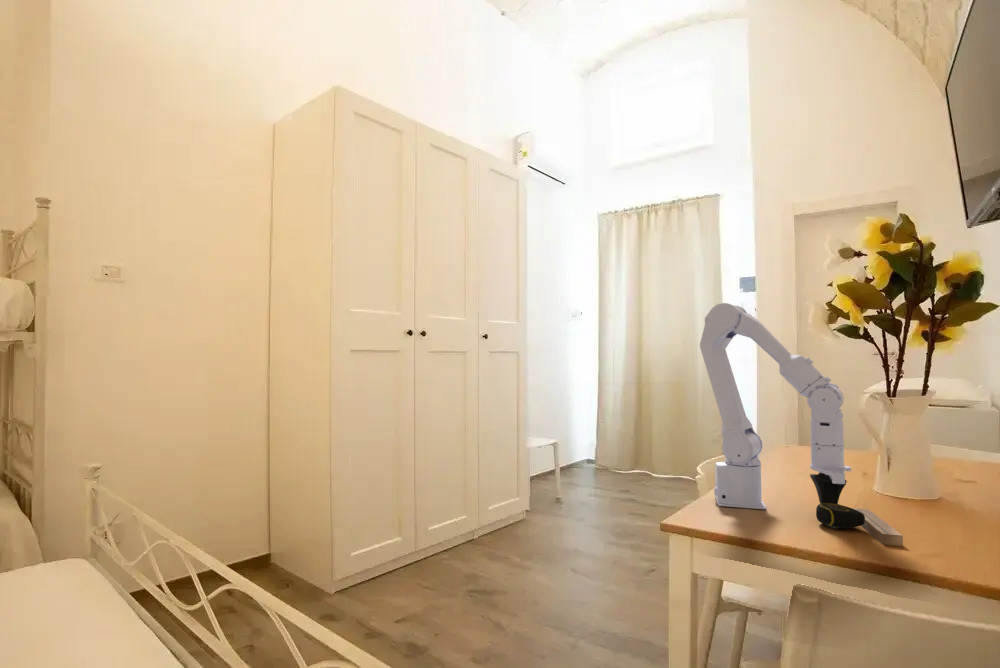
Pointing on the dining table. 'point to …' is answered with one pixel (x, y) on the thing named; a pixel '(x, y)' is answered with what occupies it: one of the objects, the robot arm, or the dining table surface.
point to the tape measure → (839, 516)
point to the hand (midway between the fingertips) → (828, 511)
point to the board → (880, 529)
